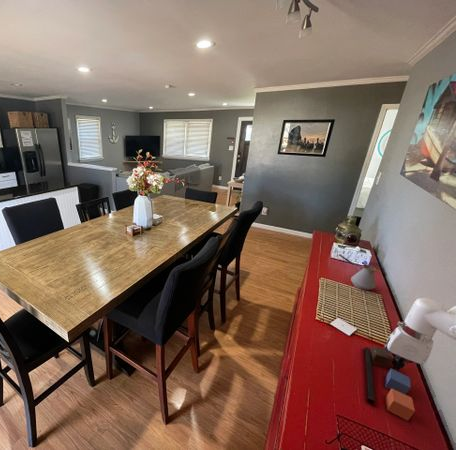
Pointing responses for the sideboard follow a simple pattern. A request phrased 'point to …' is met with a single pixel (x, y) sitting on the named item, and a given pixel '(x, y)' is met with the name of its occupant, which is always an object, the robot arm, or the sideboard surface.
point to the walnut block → (380, 357)
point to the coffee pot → (363, 276)
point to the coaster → (343, 326)
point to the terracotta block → (400, 404)
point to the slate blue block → (397, 381)
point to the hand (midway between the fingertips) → (395, 366)
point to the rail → (369, 376)
